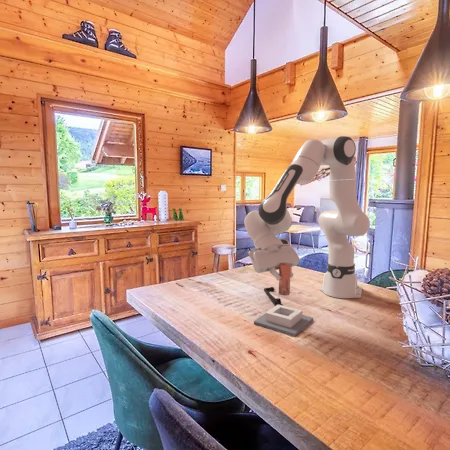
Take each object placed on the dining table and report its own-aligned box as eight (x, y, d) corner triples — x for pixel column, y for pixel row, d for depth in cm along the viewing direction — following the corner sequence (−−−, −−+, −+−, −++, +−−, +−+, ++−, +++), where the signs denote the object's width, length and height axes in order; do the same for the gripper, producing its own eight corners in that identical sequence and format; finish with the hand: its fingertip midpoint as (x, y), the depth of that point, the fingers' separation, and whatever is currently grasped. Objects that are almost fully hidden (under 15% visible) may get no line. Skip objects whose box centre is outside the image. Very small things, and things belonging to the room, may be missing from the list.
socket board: (274, 310, 122) (274, 300, 122) (313, 320, 113) (313, 309, 112) (253, 323, 110) (253, 313, 109) (295, 336, 100) (295, 325, 100)
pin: (281, 291, 113) (282, 262, 111) (291, 293, 110) (292, 263, 109) (276, 293, 109) (277, 264, 108) (286, 296, 107) (287, 265, 106)
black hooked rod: (274, 294, 147) (290, 313, 117) (263, 295, 147) (277, 314, 117) (273, 283, 147) (290, 300, 117) (263, 284, 147) (277, 301, 117)
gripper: (250, 244, 108) (268, 278, 101) (291, 240, 119) (310, 269, 112) (242, 254, 112) (259, 287, 105) (283, 249, 123) (300, 278, 116)
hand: (285, 278), depth 109 cm, fingers closed on pin, 4 cm apart
